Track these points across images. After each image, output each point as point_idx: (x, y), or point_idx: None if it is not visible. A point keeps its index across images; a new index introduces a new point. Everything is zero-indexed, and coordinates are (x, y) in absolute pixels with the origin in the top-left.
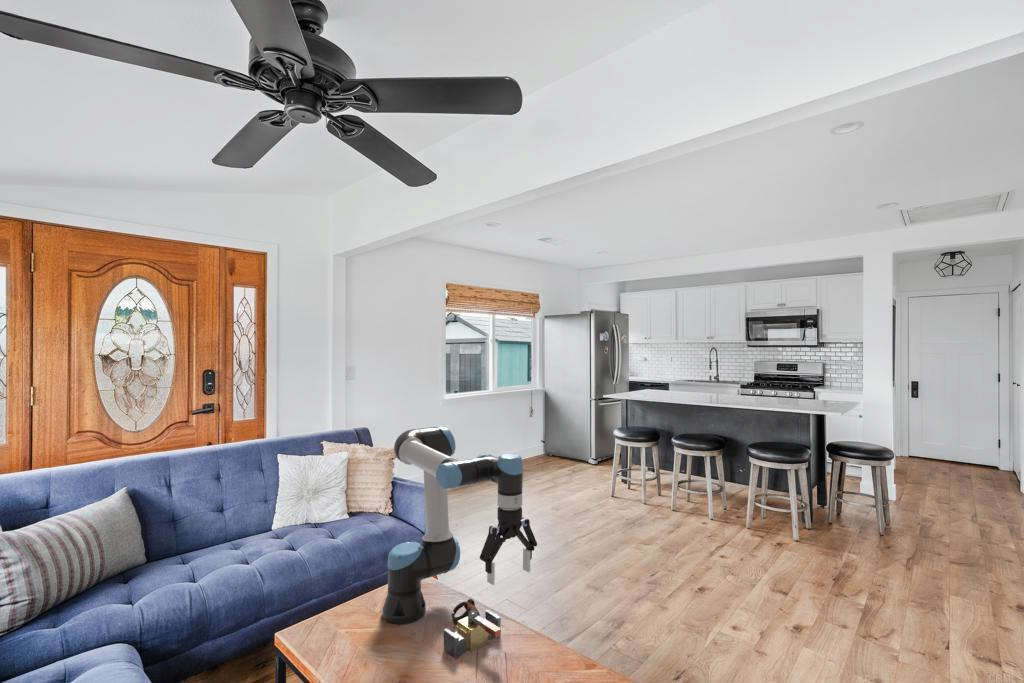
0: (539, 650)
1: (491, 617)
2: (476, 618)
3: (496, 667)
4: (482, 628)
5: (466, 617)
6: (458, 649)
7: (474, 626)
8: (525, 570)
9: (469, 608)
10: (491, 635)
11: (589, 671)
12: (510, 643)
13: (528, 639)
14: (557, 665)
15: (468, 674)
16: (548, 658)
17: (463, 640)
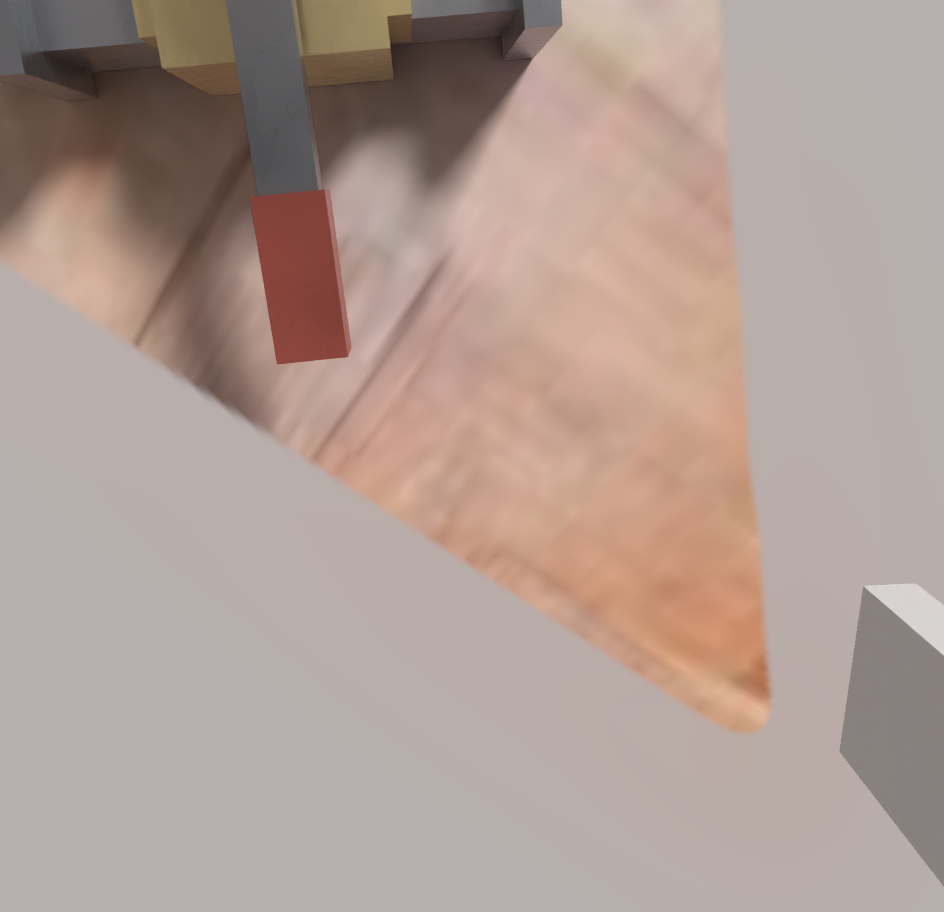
0: (653, 387)
1: None
2: (239, 12)
3: (293, 365)
4: (318, 62)
5: None
6: (66, 89)
7: (227, 31)
8: (854, 676)
9: None
10: (453, 34)
11: (735, 707)
12: (543, 187)
13: (684, 230)
14: (632, 571)
15: (83, 314)
16: (638, 488)
17: (122, 47)
